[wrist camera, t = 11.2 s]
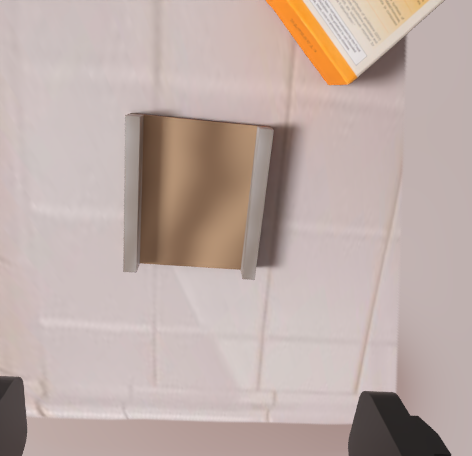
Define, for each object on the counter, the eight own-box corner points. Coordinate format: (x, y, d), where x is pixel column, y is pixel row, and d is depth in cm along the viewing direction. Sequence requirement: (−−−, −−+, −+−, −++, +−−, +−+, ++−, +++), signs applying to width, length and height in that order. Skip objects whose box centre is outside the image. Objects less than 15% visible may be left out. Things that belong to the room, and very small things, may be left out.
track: (128, 259, 34) (123, 271, 32) (131, 113, 30) (125, 115, 28) (251, 267, 35) (254, 279, 33) (269, 126, 31) (273, 129, 29)
